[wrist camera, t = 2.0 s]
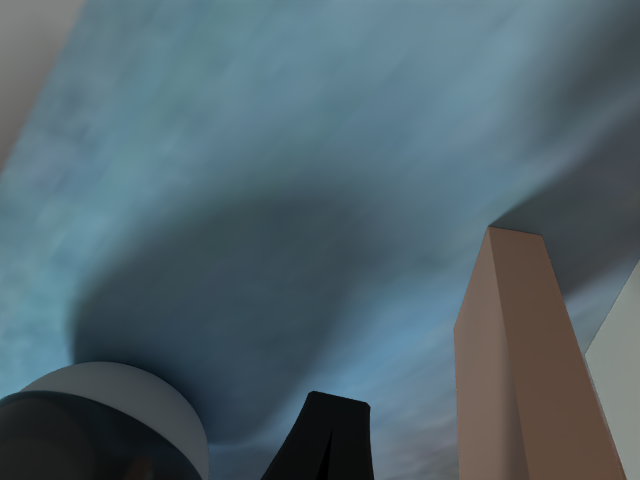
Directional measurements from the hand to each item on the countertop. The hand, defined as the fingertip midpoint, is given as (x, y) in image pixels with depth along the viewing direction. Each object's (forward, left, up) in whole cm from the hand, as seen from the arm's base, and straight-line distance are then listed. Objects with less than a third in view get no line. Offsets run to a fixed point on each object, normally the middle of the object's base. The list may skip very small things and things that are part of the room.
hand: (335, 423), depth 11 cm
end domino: (-3, -3, -6) cm, 8 cm away
